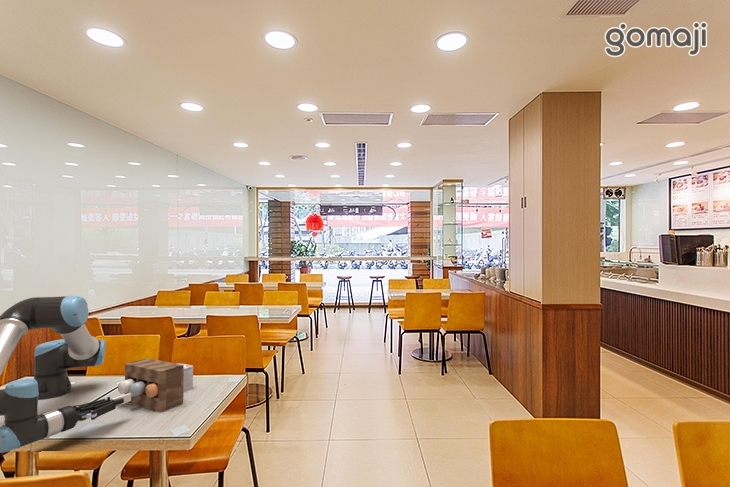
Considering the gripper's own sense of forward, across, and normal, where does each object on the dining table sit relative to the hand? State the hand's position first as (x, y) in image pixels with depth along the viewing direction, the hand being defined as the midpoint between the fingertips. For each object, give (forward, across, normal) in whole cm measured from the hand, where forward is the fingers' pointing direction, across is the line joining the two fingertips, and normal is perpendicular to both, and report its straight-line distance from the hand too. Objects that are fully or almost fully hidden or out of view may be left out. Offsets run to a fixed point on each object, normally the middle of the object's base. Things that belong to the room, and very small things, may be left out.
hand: (129, 397), depth 147 cm
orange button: (+12, 0, -3) cm, 12 cm away
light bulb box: (+31, -12, -8) cm, 34 cm away
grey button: (+9, -7, -3) cm, 12 cm away
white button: (+10, -14, -3) cm, 17 cm away
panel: (+15, -7, -8) cm, 18 cm away
